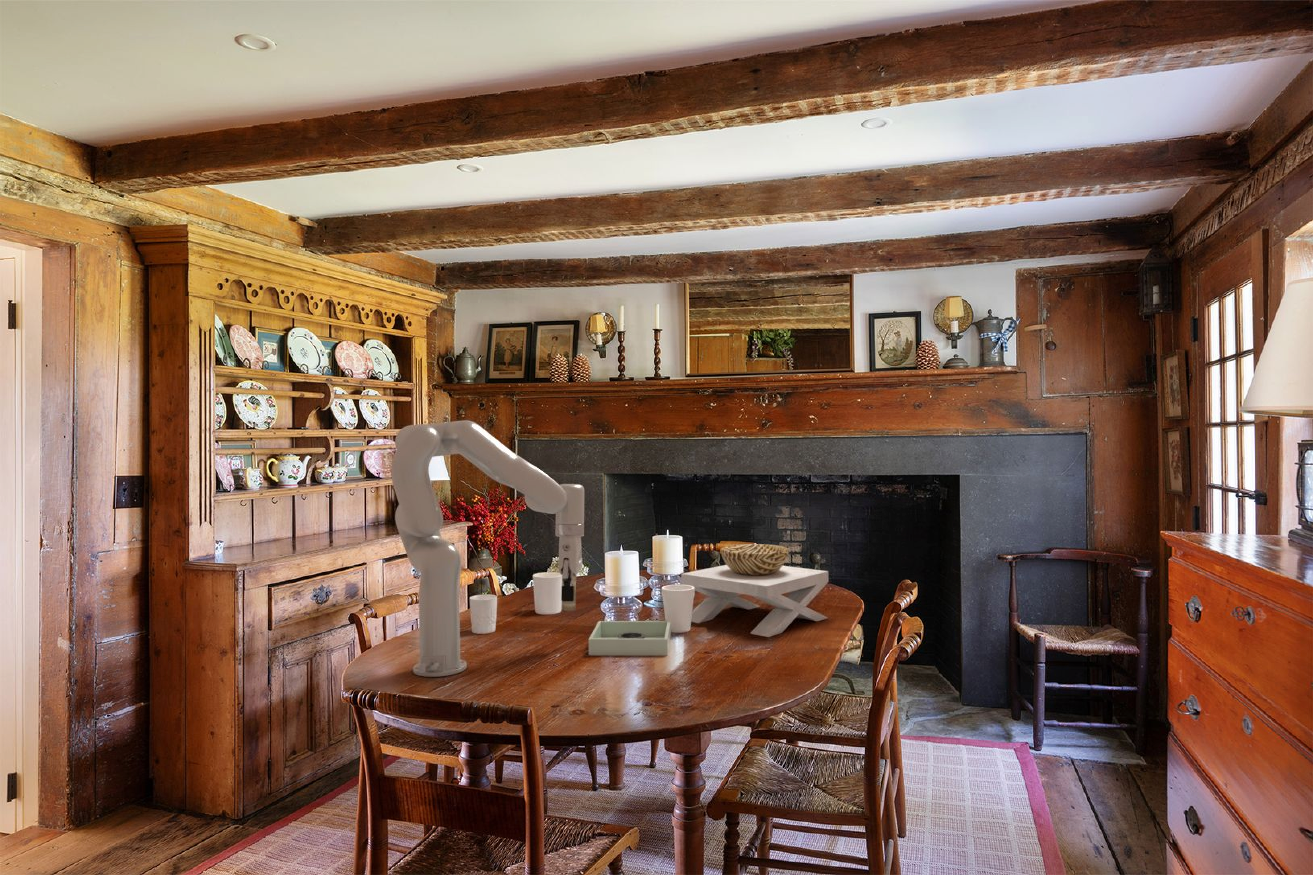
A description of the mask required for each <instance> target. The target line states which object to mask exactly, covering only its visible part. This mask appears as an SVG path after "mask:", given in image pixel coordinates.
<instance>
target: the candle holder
mask: <svg viewBox="0 0 1313 875" xmlns="http://www.w3.org/2000/svg"><path fill="white" fill-rule="evenodd" d="M532 582H533V583H532V585H533V598H534V611H535V613H536V614H538V615H555V614H559V613H561V612H562V600H561V591H562V574H560V573H559V572H554V571H550V572H549V571H548V572H537V573H533V575H532Z"/></svg>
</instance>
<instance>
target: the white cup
mask: <svg viewBox="0 0 1313 875" xmlns="http://www.w3.org/2000/svg"><path fill="white" fill-rule="evenodd" d="M497 608H498V595H495V594H486V593H485V594H476V595H472V596H470V597H469V611H470V623H471V632H472V634H478V635H482V634H483V635H485V634H486V635H487V634H491V633H494V632H496V628H497V627H496V626H497V624H496V623H497V617H498V616H497V613H498V612H497V611H498V609H497Z"/></svg>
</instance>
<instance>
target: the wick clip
mask: <svg viewBox="0 0 1313 875" xmlns="http://www.w3.org/2000/svg"><path fill="white" fill-rule="evenodd" d="M618 639H645V634H643V633H638V632H627V633H622V634H619V635H618Z"/></svg>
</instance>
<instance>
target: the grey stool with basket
mask: <svg viewBox="0 0 1313 875" xmlns="http://www.w3.org/2000/svg"><path fill="white" fill-rule="evenodd" d="M789 552H790V550H789V548H787V547H786V546H781V545H778V544H777V545H776V544H761V543H758V544H757V543H749V544H748V543H747V544H746V543H745V544H733V545H727V546H724V547H722V548H721V549H720V553H721V554H720V555H721V558H722V559H723V561H724V563H725V564H724V565H720V566H719V565H718V566H715V567H709V568H704V569H699V570H698V569H697V570H694V571H688V572H683V573H681V574H680V576H681V577H680V581H681V582H680V583H681V584H680V585H690V586H693V587H695V592H698V593H700V594H703V595H705V596H707V597H706V598H705V599H704V600H703V601H701V603H699V604H698V605H697V606H696V607H695V608H694V609H692V617H691V623H695V624H701V623H704V622H707V621H711V620H713V619H715V618H716V616H718V615H719V613H721V612H722V611H723V610H724V608H726V607H727V606H730V607H733V608H736V609H742V610H752V609H756V608H759V607H760V608H761V606H760V605H758V604H756V603H754V602H752V601H749V600H747V599H745V598H743V597H741V596H739V594H740V595H741V594H742V595H746V596H747V595H748V596H750V597H752V598H755V599H756V600H759V601H761V602H763V603H766V604H767V605H769V606H772V607H774V608H773V609H771V611H770V612H769V613H768V614H767V615H765V617H764V618H763V619H762V620H761V621H760V622H759V623H758V624H757V626H756V627H754V628H753V630H751V632H750V634H752V635H757V636H761V637H766V638H770V637H773V636H777V635H778V634H779V635H780V634H782V633H783V632H784V631H785V630H786V629H787V628H788V626H790V624H792V623H793V621H794V620H795V619H796V618H797V619H802V620H807V621H812V622H819V621H823V620H826V619H828V617H827V616H826V615H823V614H821V613H820V612H818V611H815V610H813V609H811V608H809V607H807V606H808V605H809V604H810V603H811V601H812V600H813V599H814V598H815V597H816V596H817V595H818V594H819V593H820V592H821V591H822V590H823V588H824V587H826V585H827V584H828V583H829V581H830V580H829V570H822V569H821V570H820V569H813V568H803V567H796V566H795V567H794V566H787V565H784V564H785V563H786V561H787V559H788V558H789V554H790V553H789ZM786 593H787V594H786ZM783 594H786V595H785V596H784V595H783Z"/></svg>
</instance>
